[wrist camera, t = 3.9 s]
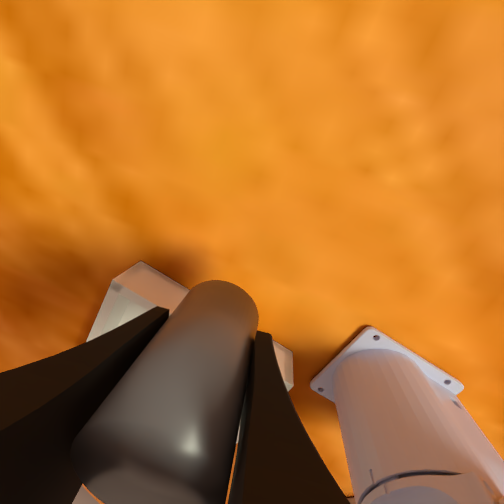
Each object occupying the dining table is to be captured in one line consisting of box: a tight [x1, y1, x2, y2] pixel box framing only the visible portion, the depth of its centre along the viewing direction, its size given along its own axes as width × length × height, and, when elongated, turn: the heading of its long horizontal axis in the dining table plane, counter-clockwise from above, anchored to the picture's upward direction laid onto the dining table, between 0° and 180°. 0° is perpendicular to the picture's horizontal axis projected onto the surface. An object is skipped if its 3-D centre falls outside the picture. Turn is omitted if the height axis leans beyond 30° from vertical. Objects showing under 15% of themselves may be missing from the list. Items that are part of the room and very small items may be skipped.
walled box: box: [86, 261, 294, 444], centre depth 23 cm, size 15×20×4 cm
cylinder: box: [71, 280, 259, 504], centre depth 9 cm, size 4×4×7 cm
